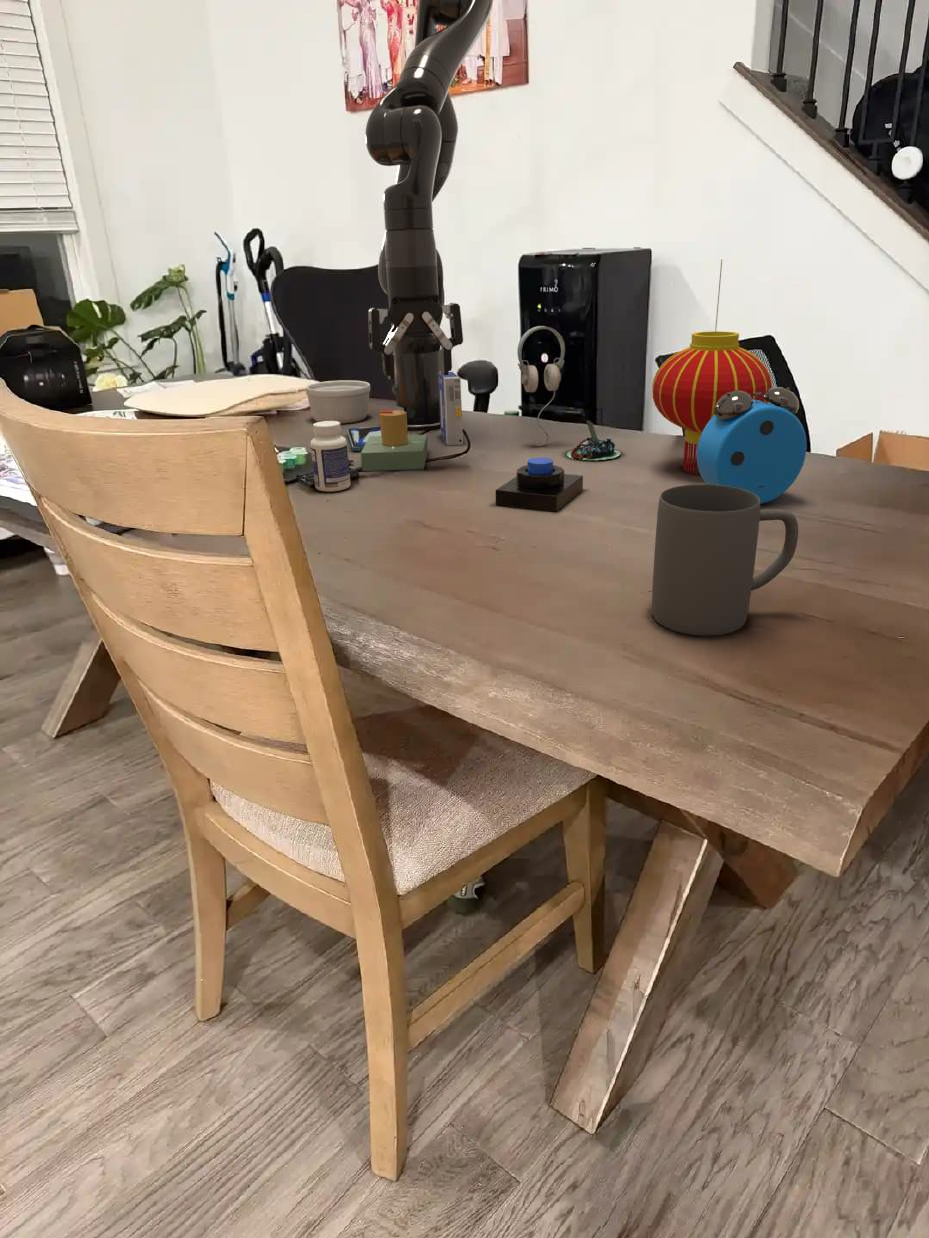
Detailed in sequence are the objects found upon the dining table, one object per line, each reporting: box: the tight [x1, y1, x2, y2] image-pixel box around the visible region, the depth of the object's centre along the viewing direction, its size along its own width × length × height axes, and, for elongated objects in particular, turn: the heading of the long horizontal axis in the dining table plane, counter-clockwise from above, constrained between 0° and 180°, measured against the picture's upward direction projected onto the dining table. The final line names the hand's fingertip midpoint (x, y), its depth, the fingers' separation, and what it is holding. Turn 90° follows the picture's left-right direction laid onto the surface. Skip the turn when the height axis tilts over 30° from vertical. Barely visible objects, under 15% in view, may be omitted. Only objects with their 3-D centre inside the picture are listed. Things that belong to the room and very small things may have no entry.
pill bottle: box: [309, 421, 351, 493], centre depth 126 cm, size 5×5×10 cm
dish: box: [566, 419, 622, 461], centre depth 141 cm, size 8×7×8 cm
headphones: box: [516, 325, 566, 447], centre depth 144 cm, size 8×4×20 cm, turn 105°
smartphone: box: [346, 425, 381, 452], centre depth 156 cm, size 7×1×15 cm
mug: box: [651, 483, 799, 637], centre depth 80 cm, size 14×9×12 cm
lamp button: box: [526, 457, 554, 474], centre depth 118 cm, size 4×4×2 cm
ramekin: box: [305, 379, 371, 425], centre depth 175 cm, size 13×13×7 cm
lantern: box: [651, 259, 773, 475], centre depth 124 cm, size 17×17×30 cm
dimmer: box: [360, 434, 429, 472], centre depth 141 cm, size 12×10×3 cm
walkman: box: [438, 371, 464, 446], centre depth 152 cm, size 8×3×12 cm, turn 11°
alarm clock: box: [696, 386, 808, 505], centre depth 112 cm, size 13×6×15 cm, turn 104°
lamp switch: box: [495, 464, 584, 512], centre depth 119 cm, size 11×9×4 cm
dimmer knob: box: [379, 409, 409, 446], centre depth 140 cm, size 4×4×5 cm
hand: (418, 377), depth 131 cm, fingers open, 8 cm apart
